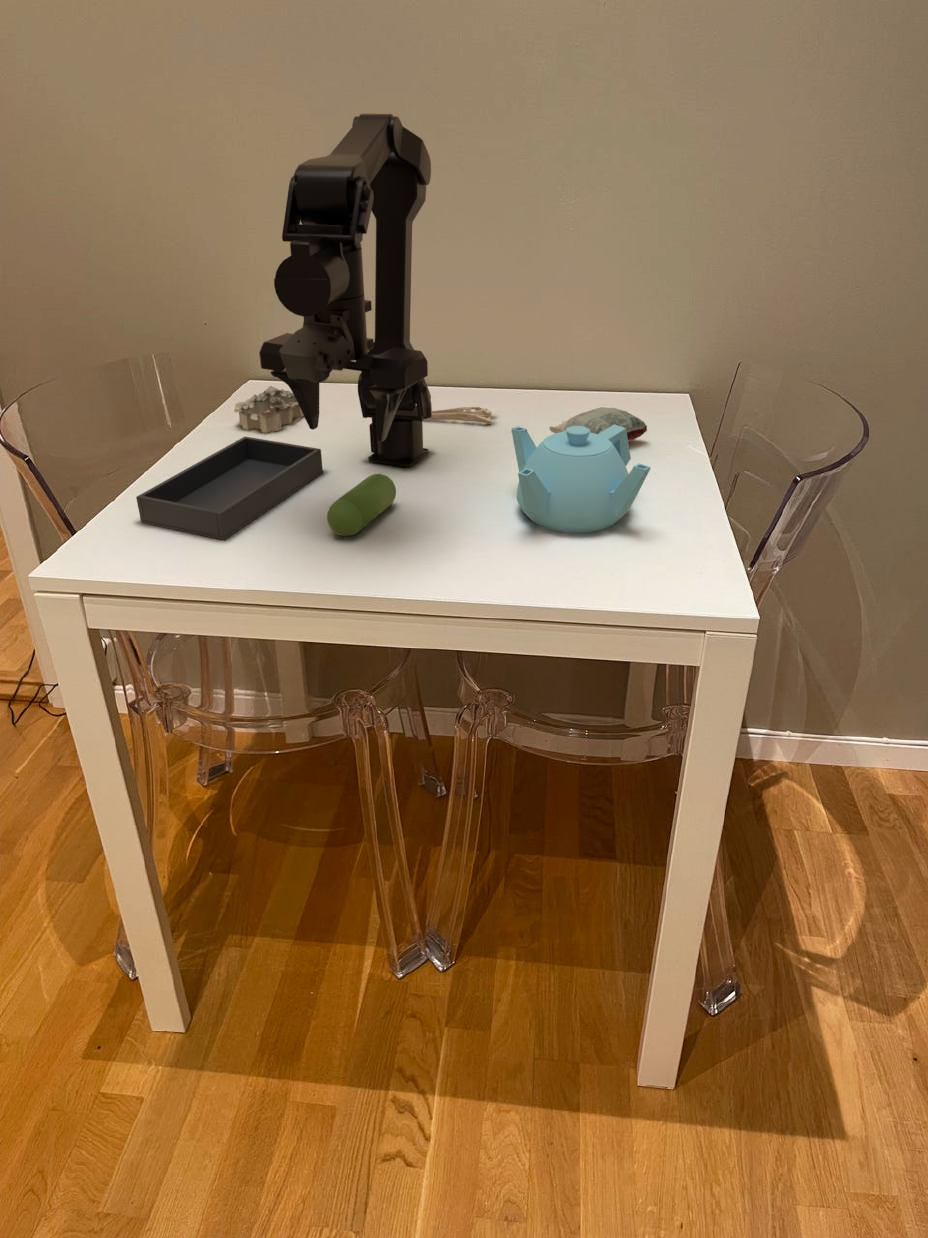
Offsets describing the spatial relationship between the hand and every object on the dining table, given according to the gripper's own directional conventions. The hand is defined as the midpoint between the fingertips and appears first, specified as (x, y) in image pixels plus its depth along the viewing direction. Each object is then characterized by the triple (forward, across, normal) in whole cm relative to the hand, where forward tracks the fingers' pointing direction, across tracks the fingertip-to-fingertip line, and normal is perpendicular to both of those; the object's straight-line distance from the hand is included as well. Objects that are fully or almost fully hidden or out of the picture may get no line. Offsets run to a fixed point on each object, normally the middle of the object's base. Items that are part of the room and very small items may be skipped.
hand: (347, 434), depth 109 cm
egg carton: (+11, -31, +25) cm, 41 cm away
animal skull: (+11, -8, +36) cm, 39 cm away
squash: (+11, +1, +1) cm, 11 cm away
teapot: (+11, +23, +14) cm, 29 cm away
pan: (+11, -18, 0) cm, 21 cm away
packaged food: (+11, +18, +38) cm, 43 cm away
